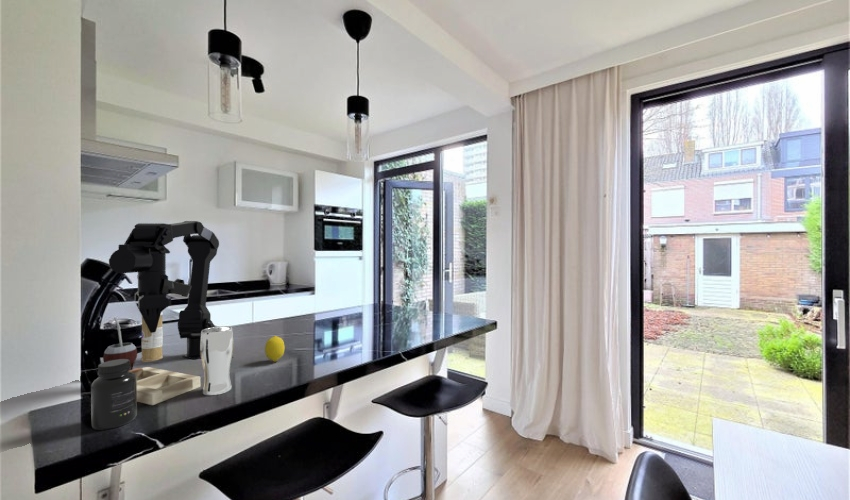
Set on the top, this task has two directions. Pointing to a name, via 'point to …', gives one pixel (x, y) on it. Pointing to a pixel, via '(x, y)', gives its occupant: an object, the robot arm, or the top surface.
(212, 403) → the top surface
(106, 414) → the supplement bottle
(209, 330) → the beer glass
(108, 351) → the mate gourd
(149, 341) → the sprinkles bottle
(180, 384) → the beige wooden flat tray
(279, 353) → the lemon
